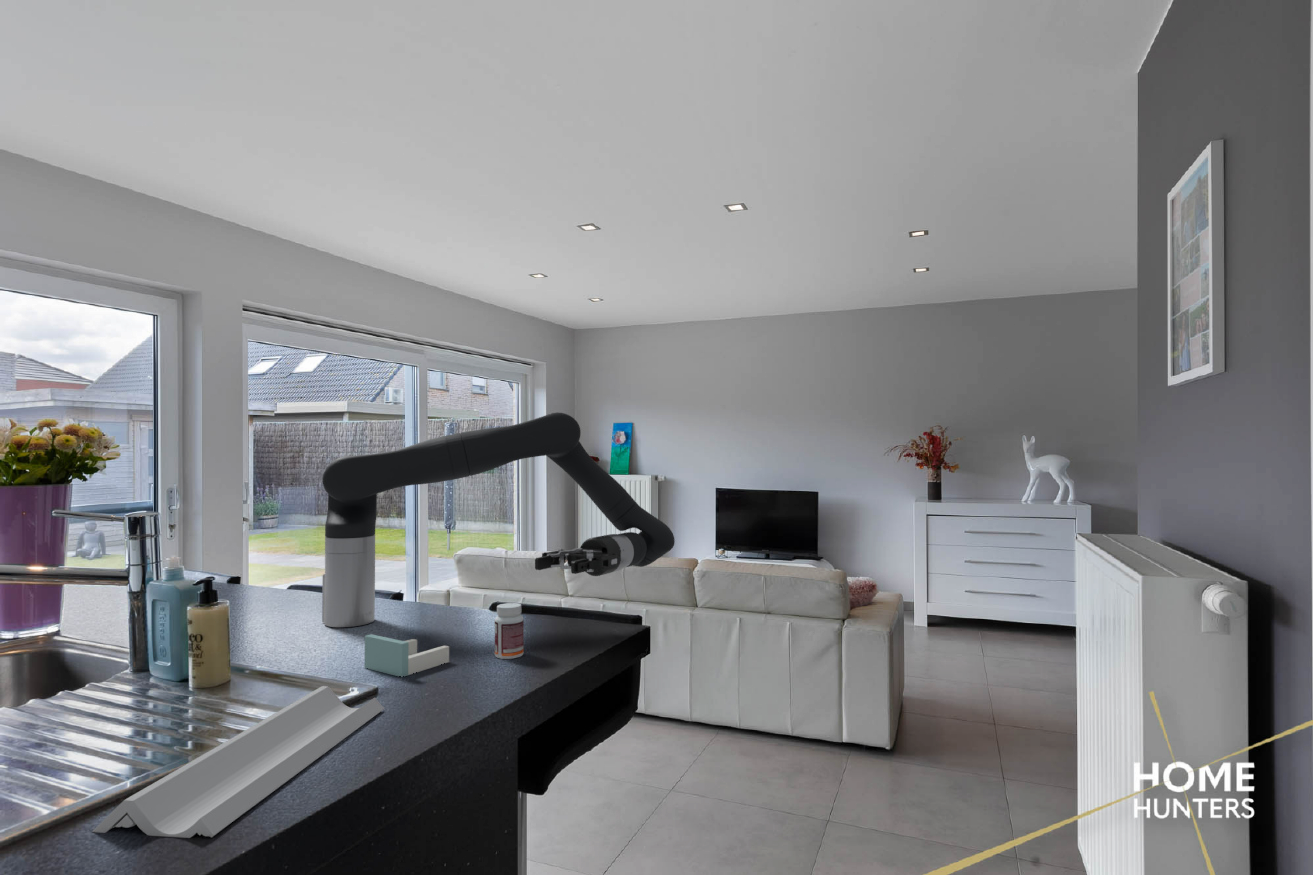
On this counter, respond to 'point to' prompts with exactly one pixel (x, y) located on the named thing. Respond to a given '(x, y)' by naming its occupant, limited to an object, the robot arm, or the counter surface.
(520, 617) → the pill bottle
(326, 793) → the counter surface
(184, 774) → the crown molding
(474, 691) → the counter surface
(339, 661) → the counter surface
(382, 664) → the u-shaped bracket
